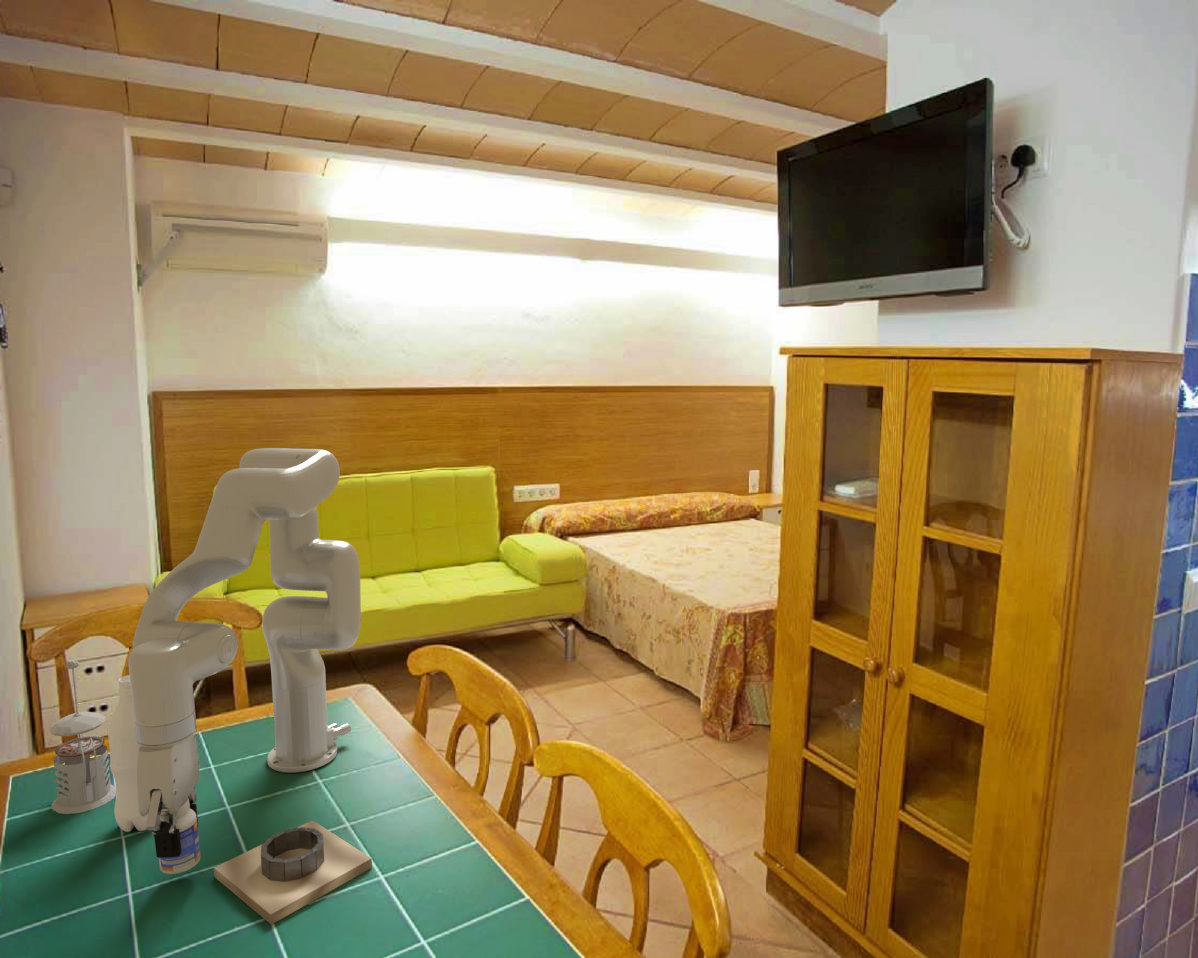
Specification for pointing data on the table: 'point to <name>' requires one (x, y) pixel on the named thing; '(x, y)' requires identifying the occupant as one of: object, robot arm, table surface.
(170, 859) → the pill bottle
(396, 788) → the table surface
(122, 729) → the water bottle
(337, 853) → the stand plate
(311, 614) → the robot arm
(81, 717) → the french press
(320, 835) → the collar
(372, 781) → the table surface
